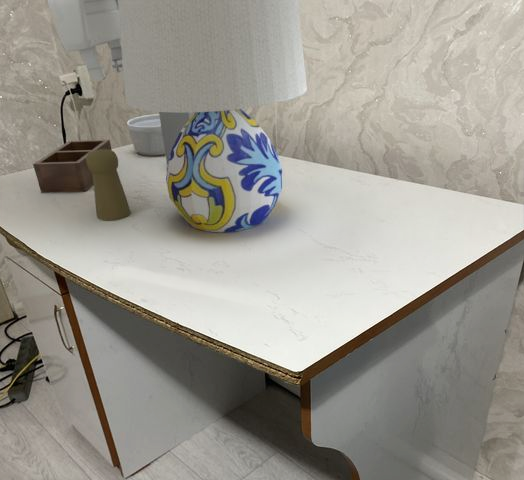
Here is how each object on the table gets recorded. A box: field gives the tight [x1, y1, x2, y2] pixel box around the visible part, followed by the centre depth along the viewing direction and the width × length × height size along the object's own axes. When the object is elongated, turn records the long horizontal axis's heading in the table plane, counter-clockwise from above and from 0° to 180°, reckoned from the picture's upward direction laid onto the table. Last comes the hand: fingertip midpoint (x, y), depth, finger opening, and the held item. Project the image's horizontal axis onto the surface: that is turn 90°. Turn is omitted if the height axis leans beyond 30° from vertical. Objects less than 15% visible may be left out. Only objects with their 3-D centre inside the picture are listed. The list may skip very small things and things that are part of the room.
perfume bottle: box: [158, 112, 195, 165], centre depth 114 cm, size 7×7×18 cm
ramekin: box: [126, 113, 166, 157], centre depth 129 cm, size 13×13×7 cm
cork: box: [86, 149, 132, 221], centre depth 92 cm, size 6×6×11 cm
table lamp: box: [118, 0, 308, 233], centre depth 80 cm, size 27×27×40 cm
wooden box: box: [32, 139, 113, 193], centre depth 113 cm, size 10×18×6 cm, turn 174°
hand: (110, 76), depth 86 cm, fingers open, 8 cm apart
